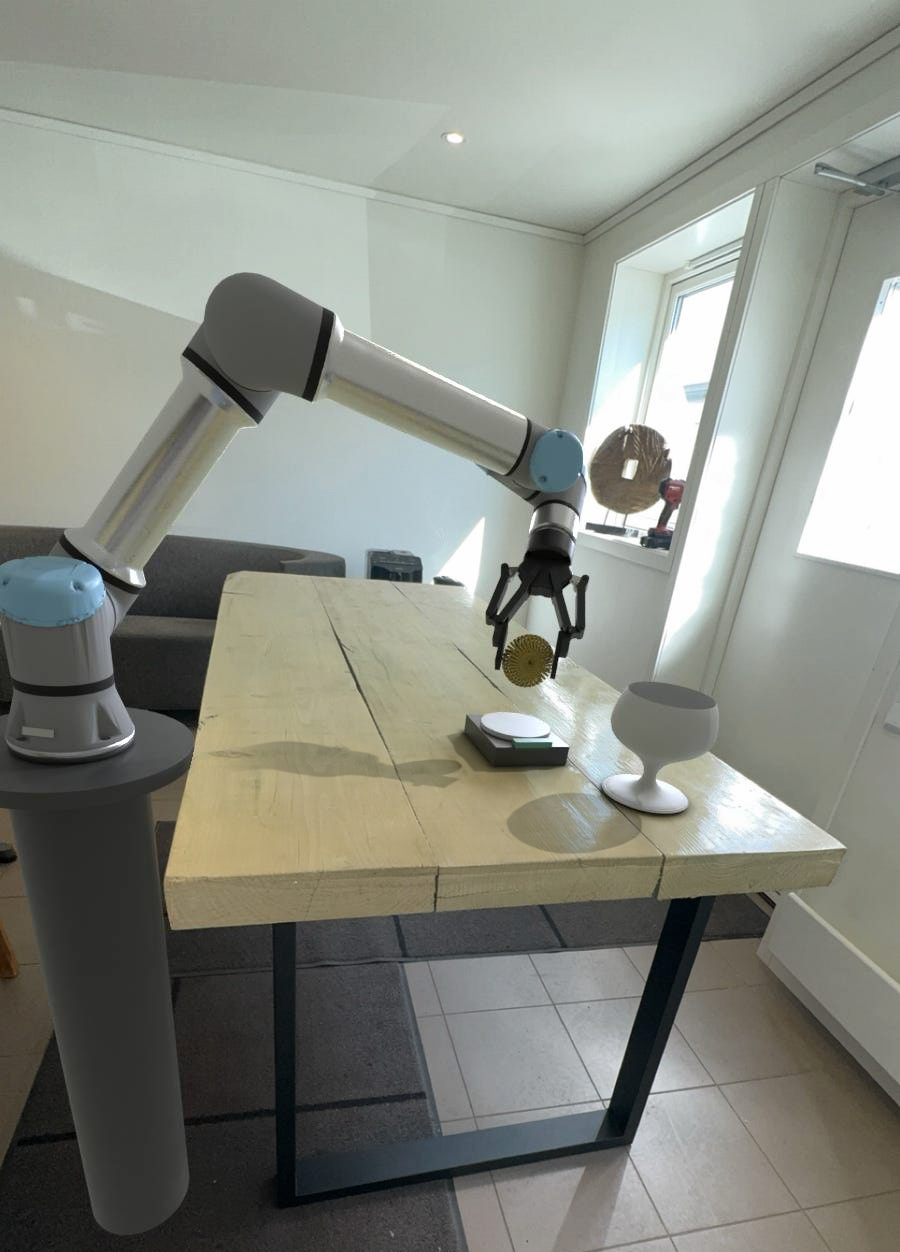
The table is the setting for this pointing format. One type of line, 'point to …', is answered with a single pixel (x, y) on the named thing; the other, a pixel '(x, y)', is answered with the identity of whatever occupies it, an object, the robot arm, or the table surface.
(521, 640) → the sculpture
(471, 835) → the table surface
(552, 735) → the scale
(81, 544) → the robot arm
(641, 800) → the chalice
